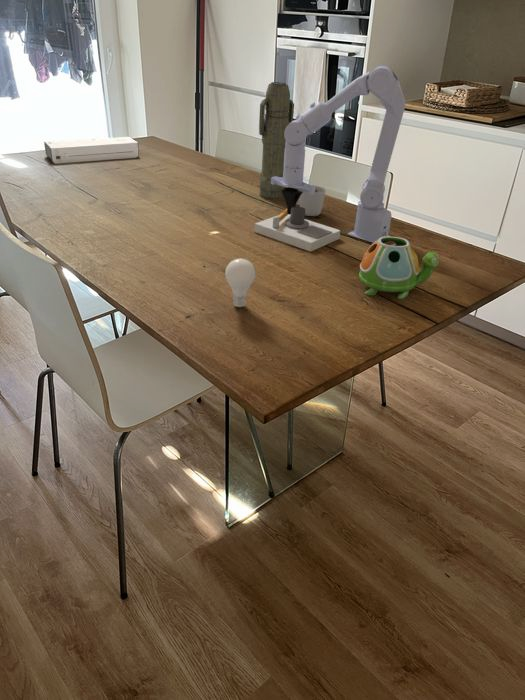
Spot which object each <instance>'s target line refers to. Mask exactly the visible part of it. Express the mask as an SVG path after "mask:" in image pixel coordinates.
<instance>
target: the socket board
mask: <svg viewBox="0 0 525 700" xmlns="http://www.w3.org/2000/svg"><path fill="white" fill-rule="evenodd" d="M290 216H291V214H290V215H289V214H288V215H287V216H286V217H285V218H284V219H282V220H281V221H280V222H279V228H273V217H274V216H272V217H269V218H267V219H264V220H261V221H257V222H255V223H254V233H256V234H259V235H262V236H266V237H268V238H271V239H274V240H276V241H279V242H282V243H284V244H288V245H290V246H293V247H296V248H299V249H301V250H305V251H308V252H313V251H315V250H317V249H320V248H322V247H324V246H326V245H329V244H332V242H336V241H337V240H340V237H341V230H340V229H337V228H335V227H331V226H328V225H325V224H322V223H319V222H315V221H313V220H309V219H305V218H304V220H306V221H308V222H309V226H308V227H306V228H304V229H299V230H298V229H294V228H290V227H287V226H286V225H285V221H286V220H288V219H290Z"/></svg>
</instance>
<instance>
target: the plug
mask: <svg viewBox="0 0 525 700" xmlns="http://www.w3.org/2000/svg"><path fill="white" fill-rule="evenodd" d="M290 215H291V216H290V219H288V220H286V221H285V225H286V226H287V227H290V228H294V229H298V230H299V229H304V228H306V227H308V226H309V222H308V221H306V220H307V219H306V220H304V219H305V217H306V215H305V208H303V207H300V206H295V207H292V208H291V214H290Z"/></svg>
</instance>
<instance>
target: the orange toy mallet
mask: <svg viewBox="0 0 525 700" xmlns="http://www.w3.org/2000/svg"><path fill="white" fill-rule="evenodd" d="M287 215H288V211H287V208H286V209H284V210H283V211H282V212H280V214H278V215H275V216H272V217H273V228H279V222H280V221H281V220H282V219H284V218H285V217H286V216H287Z"/></svg>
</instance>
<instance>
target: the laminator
mask: <svg viewBox="0 0 525 700" xmlns="http://www.w3.org/2000/svg"><path fill="white" fill-rule="evenodd" d="M43 143H44V149H45V155H46V157H47V158H49V160H50V161H51V162H52V164H54V165H55V164H68V163H69V164H70V163H80V162H82V163H83V162H92V161H93V162H94V161H108V160H110V161H111V160H119V159H121V160H123V159H136V158H139V155H140V151H139V150H140V149H139V147H140V146H139V142H138V141H136V140H135V138H132V137H131V136H120V137H119V136H118V137H102V138H85V139H71V140H70V139H69V140H68V139H67V140H66V139H65V140H56V141H55V140H52V141H43Z"/></svg>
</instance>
